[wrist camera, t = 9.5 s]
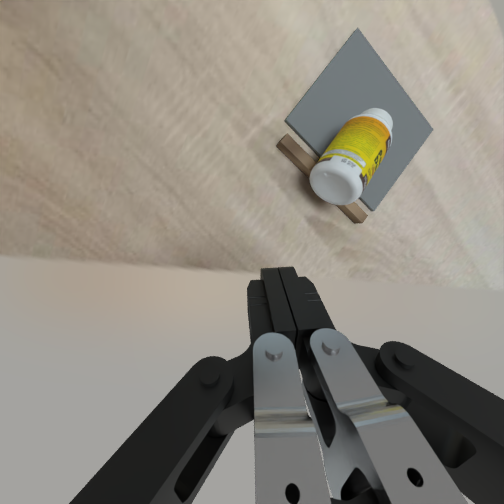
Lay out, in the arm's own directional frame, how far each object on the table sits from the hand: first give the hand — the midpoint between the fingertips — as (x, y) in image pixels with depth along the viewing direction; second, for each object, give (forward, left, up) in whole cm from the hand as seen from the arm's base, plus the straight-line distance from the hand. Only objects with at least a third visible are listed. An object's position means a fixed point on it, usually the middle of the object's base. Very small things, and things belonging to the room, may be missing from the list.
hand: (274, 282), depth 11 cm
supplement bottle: (+4, +11, -11) cm, 16 cm away
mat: (+4, +23, -16) cm, 28 cm away
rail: (+4, +13, -16) cm, 21 cm away
